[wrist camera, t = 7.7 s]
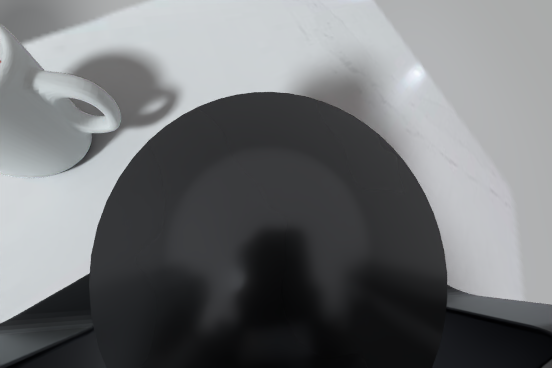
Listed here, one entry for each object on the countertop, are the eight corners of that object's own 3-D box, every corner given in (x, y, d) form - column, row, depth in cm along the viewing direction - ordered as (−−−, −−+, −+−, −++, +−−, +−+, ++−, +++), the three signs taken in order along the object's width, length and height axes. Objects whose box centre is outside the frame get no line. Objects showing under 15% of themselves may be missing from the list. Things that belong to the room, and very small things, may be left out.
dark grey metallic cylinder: (293, 256, 15) (498, 259, 3) (239, 304, 14) (256, 671, 2) (255, 205, 16) (309, 58, 4) (199, 244, 14) (13, 187, 2)
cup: (146, 105, 19) (88, 11, 12) (142, 182, 17) (66, 126, 9) (3, 106, 17) (-184, -12, 9) (-25, 196, 14) (-307, 134, 7)
